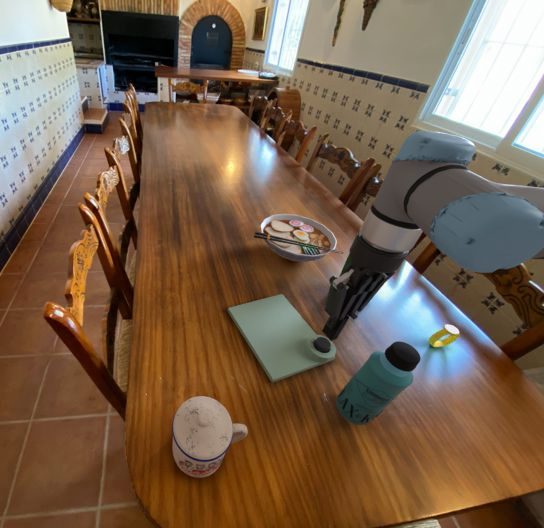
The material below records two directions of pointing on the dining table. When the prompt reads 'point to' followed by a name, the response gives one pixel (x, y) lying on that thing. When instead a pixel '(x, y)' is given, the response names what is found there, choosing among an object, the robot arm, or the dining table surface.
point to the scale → (279, 337)
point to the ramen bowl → (297, 237)
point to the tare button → (322, 344)
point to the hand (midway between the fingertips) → (329, 334)
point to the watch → (445, 331)
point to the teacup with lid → (203, 435)
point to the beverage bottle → (378, 383)
